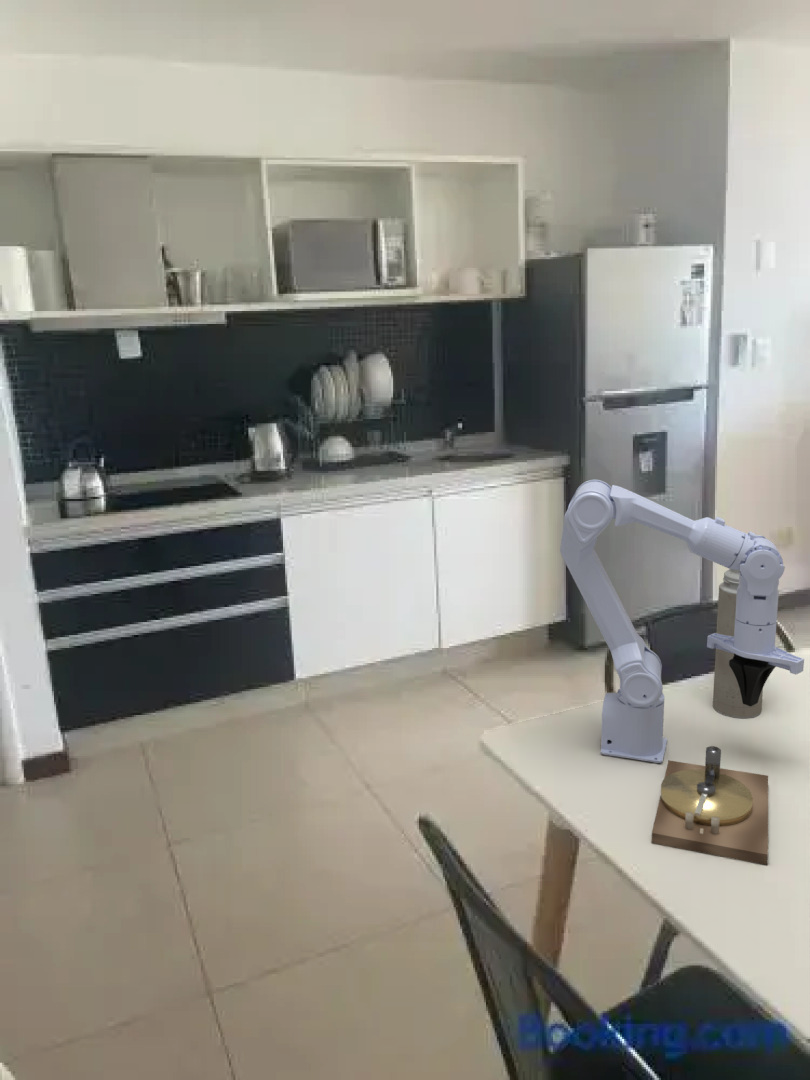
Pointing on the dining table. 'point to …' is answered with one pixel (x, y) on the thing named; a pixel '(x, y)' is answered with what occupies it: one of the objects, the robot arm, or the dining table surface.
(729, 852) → the walnut stand
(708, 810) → the dial
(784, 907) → the dining table surface
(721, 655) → the thermos bottle
